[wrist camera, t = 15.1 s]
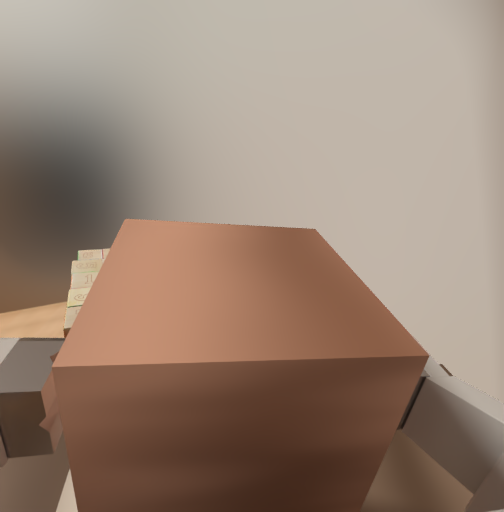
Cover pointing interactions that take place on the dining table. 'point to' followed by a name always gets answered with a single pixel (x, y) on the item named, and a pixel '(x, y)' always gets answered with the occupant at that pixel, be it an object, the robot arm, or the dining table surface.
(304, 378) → the terracotta block
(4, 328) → the dining table surface
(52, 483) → the cubby
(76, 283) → the stack of blocks
